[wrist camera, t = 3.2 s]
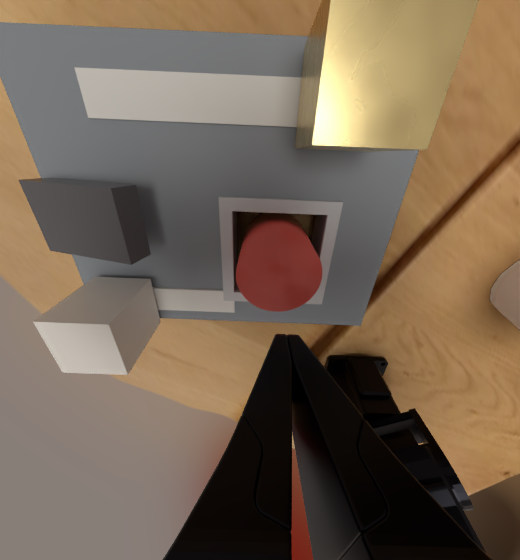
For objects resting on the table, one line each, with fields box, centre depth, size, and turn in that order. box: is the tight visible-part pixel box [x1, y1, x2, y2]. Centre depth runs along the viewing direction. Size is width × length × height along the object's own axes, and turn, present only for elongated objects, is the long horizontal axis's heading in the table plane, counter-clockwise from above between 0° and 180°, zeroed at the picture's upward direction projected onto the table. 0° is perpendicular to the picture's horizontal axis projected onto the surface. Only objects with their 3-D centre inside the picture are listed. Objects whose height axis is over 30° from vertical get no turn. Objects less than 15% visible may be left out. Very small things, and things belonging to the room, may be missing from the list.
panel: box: [0, 22, 419, 326], centre depth 16 cm, size 17×22×3 cm
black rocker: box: [19, 178, 151, 265], centre depth 13 cm, size 4×6×2 cm, turn 88°
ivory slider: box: [33, 277, 160, 375], centre depth 15 cm, size 4×4×5 cm
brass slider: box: [295, 0, 479, 152], centre depth 9 cm, size 4×4×5 cm
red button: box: [236, 213, 322, 312], centre depth 15 cm, size 5×5×6 cm
